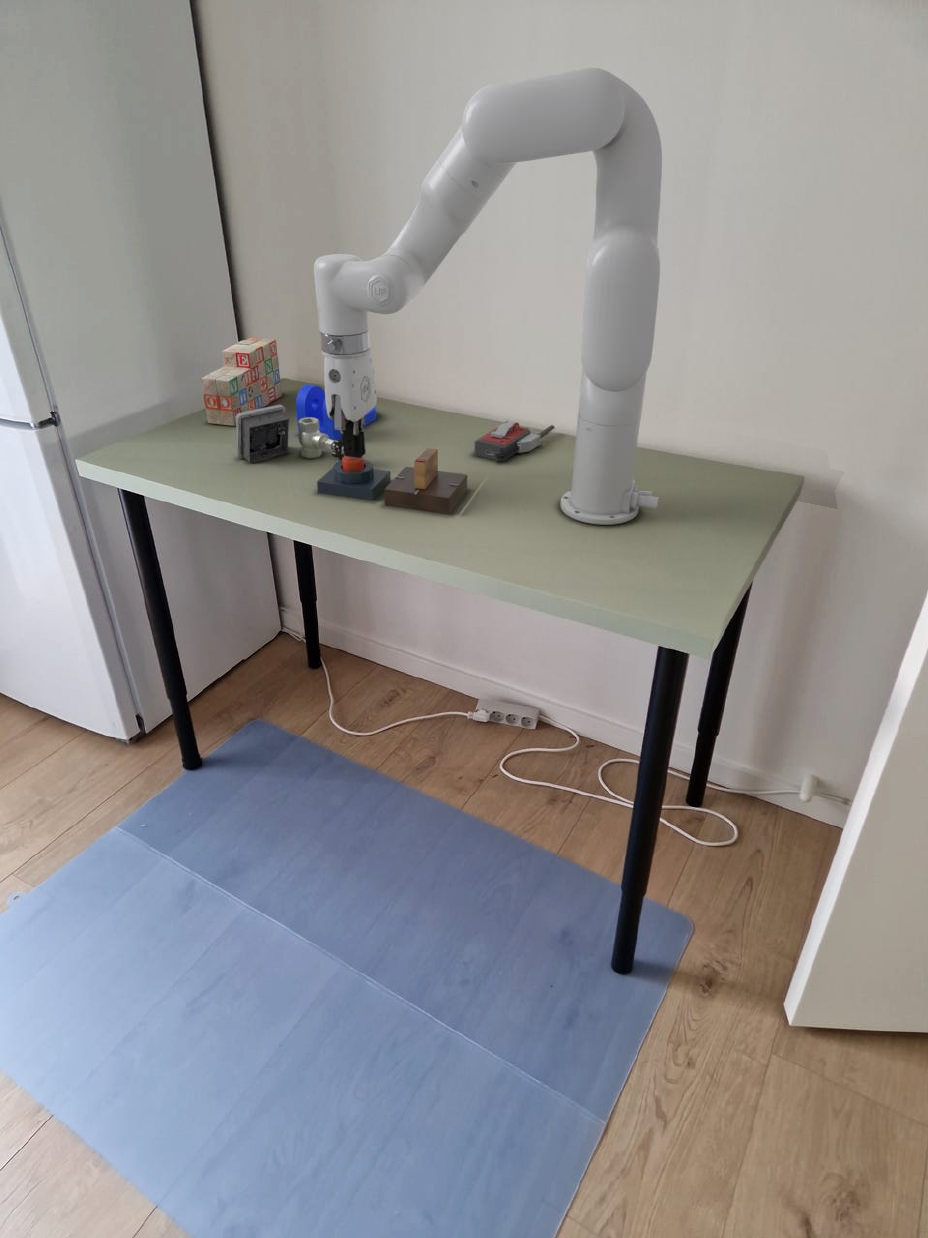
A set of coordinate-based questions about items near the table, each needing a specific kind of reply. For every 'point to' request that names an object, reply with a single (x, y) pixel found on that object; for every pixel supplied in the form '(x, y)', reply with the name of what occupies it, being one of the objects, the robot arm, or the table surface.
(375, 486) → the button box
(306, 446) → the valve
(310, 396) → the bracket
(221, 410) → the stack of blocks
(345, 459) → the red button
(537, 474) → the table surface
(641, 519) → the table surface
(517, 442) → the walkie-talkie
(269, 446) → the electrical switch
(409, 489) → the handle panel
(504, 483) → the table surface
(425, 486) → the oak handle
